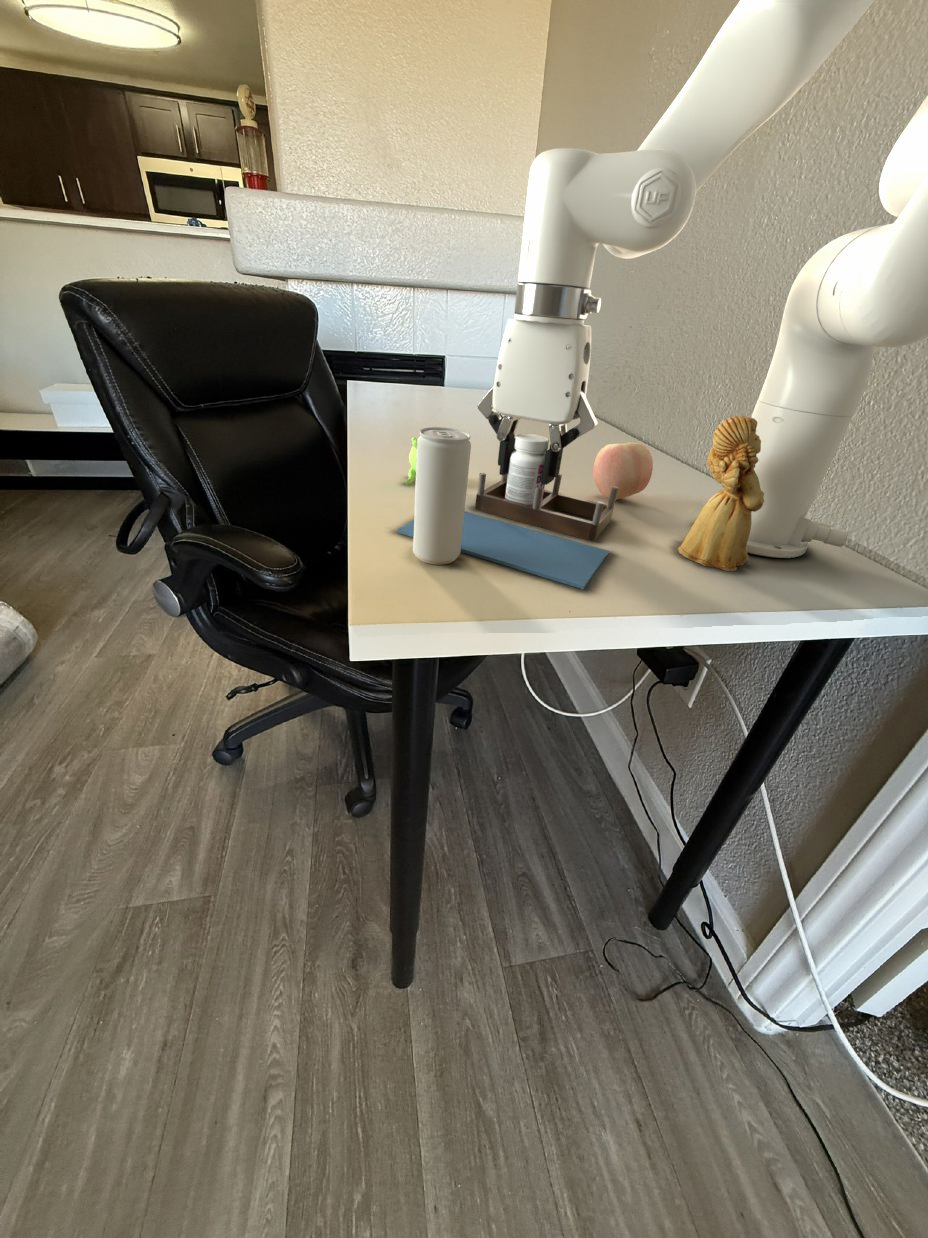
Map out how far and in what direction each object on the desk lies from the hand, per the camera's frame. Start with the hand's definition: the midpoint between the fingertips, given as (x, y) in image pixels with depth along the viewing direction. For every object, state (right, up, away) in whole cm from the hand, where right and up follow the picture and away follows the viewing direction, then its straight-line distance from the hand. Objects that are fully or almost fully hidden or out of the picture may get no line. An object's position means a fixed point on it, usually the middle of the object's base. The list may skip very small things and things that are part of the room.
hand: (526, 475), depth 64 cm
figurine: (+20, -11, -5) cm, 23 cm away
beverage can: (-11, -12, -12) cm, 20 cm away
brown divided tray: (+2, -5, +1) cm, 5 cm away
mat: (-4, -10, -8) cm, 13 cm away
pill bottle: (0, -3, +2) cm, 4 cm away
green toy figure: (-13, +2, +9) cm, 16 cm away
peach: (+14, -1, +10) cm, 17 cm away
